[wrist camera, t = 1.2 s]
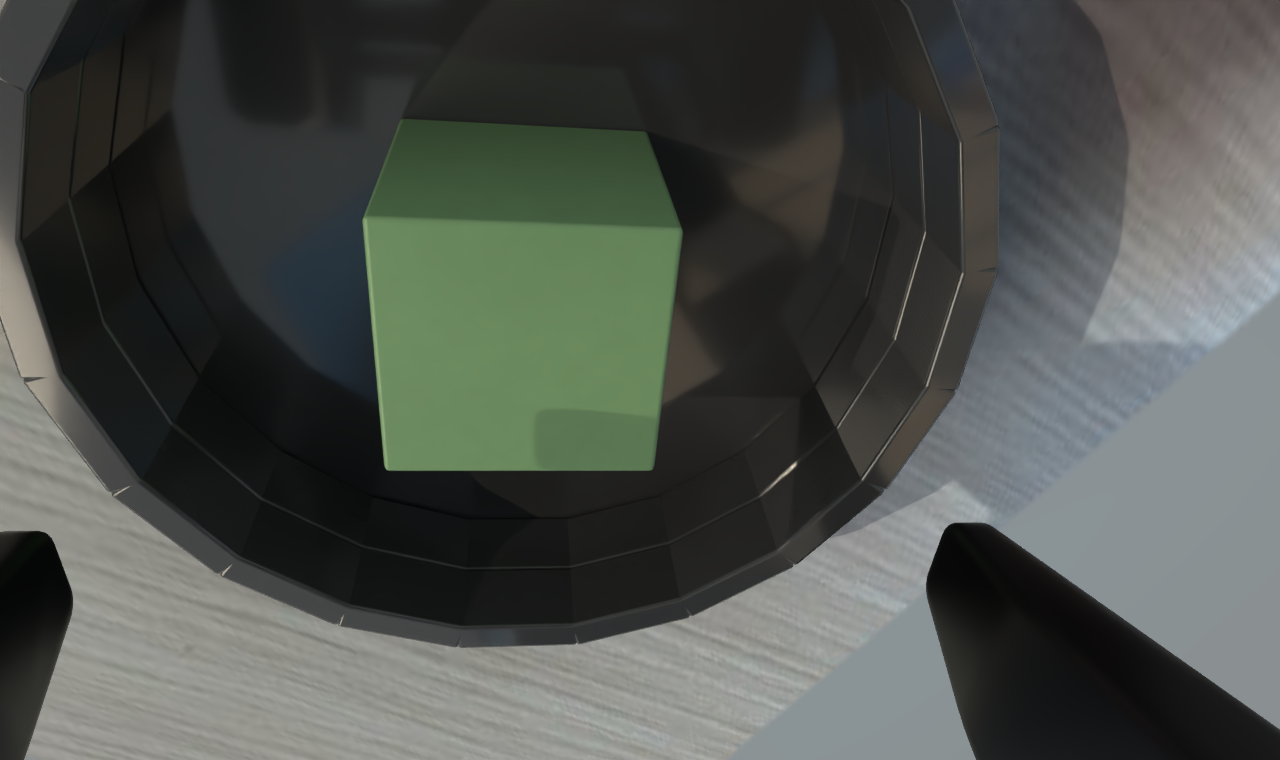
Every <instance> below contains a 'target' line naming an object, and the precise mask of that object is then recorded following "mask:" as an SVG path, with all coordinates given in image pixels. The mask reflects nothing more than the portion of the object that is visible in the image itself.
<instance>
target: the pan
mask: <svg viewBox="0 0 1280 760" xmlns="http://www.w3.org/2000/svg"><path fill="white" fill-rule="evenodd" d="M402 119H417V120H436V121H455V122H474V123H492V124H511V125H530V126H549V127H567V128H586V129H605V130H624V131H643V132H646V133H647V134H648V136H649V139H650V142H651V145H652V148H653V150H654V153H655V156H656V159H657V161H658V164H659V167H660V170H661V172H662V175H663V178H664V181H665V184H666V186H667V189H668V192H669V195H670V197H671V200H672V203H673V206H674V208H675V211H676V214H677V217H678V219H679V222H680V225H681V228H682V231H683V236H682V244H681V252H680V260H679V268H678V277H677V285H676V293H675V301H674V309H673V317H672V325H671V333H670V342H669V350H668V358H667V366H666V374H665V382H664V390H663V398H662V407H661V415H660V423H659V431H658V439H657V447H656V455H655V463H654V467H653V469H652V470H649V471H389V470H386V468H385V466H384V457H383V446H382V435H381V423H380V412H379V401H378V390H377V379H376V367H375V356H374V345H373V334H372V323H371V311H370V300H369V289H368V278H367V267H366V256H365V244H364V233H363V222H362V220H363V217H364V215H365V212H366V209H367V207H368V204H369V201H370V199H371V196H372V194H373V191H374V188H375V186H376V183H377V180H378V178H379V175H380V173H381V170H382V167H383V165H384V162H385V159H386V157H387V154H388V152H389V149H390V146H391V144H392V141H393V138H394V136H395V133H396V131H397V128H398V125H399V123H400V120H402ZM998 124H999V121H998V117H997V114H996V112H995V109H994V106H993V103H992V100H991V98H990V95H989V92H988V89H987V87H986V84H985V81H984V78H983V75H982V73H981V70H980V67H979V64H978V61H977V59H976V56H975V53H974V50H973V47H972V45H971V42H970V39H969V36H968V33H967V31H966V28H965V25H964V22H963V19H962V17H961V14H960V11H959V8H958V5H957V3H956V0H6V2H5V4H4V6H3V8H2V10H1V12H0V321H1V324H2V327H3V330H4V332H5V335H6V338H7V341H8V344H9V347H10V349H11V352H12V355H13V358H14V361H15V364H16V367H17V369H18V372H19V375H20V377H21V378H24V383H25V385H26V386H27V387H28V389H29V390H30V391H31V393H32V394H33V395H34V396H35V398H36V399H37V400H38V402H39V403H40V404H41V406H42V407H43V408H44V409H45V411H46V412H47V413H48V415H49V416H50V417H51V419H52V420H53V421H54V422H55V424H56V425H57V426H58V428H59V429H60V430H61V432H62V433H63V434H64V435H65V437H66V438H67V439H68V441H69V442H70V443H71V445H72V446H73V447H74V448H75V450H76V451H77V452H78V454H79V455H80V456H81V458H82V459H83V460H84V461H85V463H86V464H87V465H88V467H89V468H90V469H91V471H92V472H93V473H94V474H95V476H96V477H97V478H98V480H99V481H100V482H101V484H102V485H103V486H104V487H105V489H106V490H107V491H108V492H112V496H113V497H114V498H116V499H117V500H118V501H120V502H121V503H122V504H124V505H125V506H126V507H128V508H129V509H130V510H132V511H133V512H134V513H136V514H137V515H138V516H140V517H141V518H142V519H144V520H145V521H146V522H148V523H149V524H150V525H152V526H153V527H154V528H156V529H157V530H158V531H160V532H161V533H162V534H164V535H165V536H166V537H168V538H169V539H171V540H172V541H173V542H175V543H176V544H177V545H179V546H180V547H181V548H183V549H184V550H185V551H187V552H188V553H189V554H191V555H192V556H193V557H195V558H196V559H197V560H199V561H200V562H201V563H203V564H204V565H205V566H207V567H208V568H209V569H211V570H212V571H213V572H215V573H217V574H219V573H220V575H221V576H222V577H224V578H226V579H228V580H231V581H233V582H235V583H238V584H240V585H242V586H245V587H247V588H249V589H252V590H254V591H257V592H259V593H261V594H264V595H266V596H268V597H271V598H273V599H275V600H278V601H280V602H282V603H285V604H287V605H289V606H292V607H294V608H296V609H299V610H301V611H304V612H306V613H308V614H311V615H313V616H315V617H318V618H320V619H322V620H325V621H327V622H329V623H332V624H339V626H341V627H347V628H352V629H358V630H363V631H368V632H374V633H379V634H385V635H390V636H396V637H401V638H406V639H412V640H417V641H423V642H428V643H434V644H439V645H444V646H450V647H457V646H458V645H459V647H460V648H477V647H513V646H549V645H574V644H576V642H577V643H578V644H583V643H587V642H591V641H595V640H599V639H604V638H608V637H612V636H616V635H620V634H624V633H628V632H632V631H637V630H641V629H645V628H649V627H653V626H657V625H661V624H665V623H670V622H674V621H678V620H682V619H686V618H689V616H690V615H691V616H694V615H696V614H698V613H700V612H702V611H704V610H706V609H708V608H710V607H712V606H714V605H717V604H719V603H721V602H723V601H725V600H727V599H729V598H731V597H733V596H735V595H737V594H739V593H741V592H743V591H745V590H747V589H749V588H751V587H753V586H755V585H757V584H759V583H761V582H763V581H765V580H767V579H770V578H772V577H774V576H776V575H778V574H780V573H782V572H784V571H786V570H788V569H790V568H792V567H793V564H795V565H796V564H798V563H799V562H800V561H802V560H803V559H804V558H805V557H806V556H808V555H809V554H810V553H811V552H813V551H814V550H815V549H816V548H817V547H819V546H820V545H821V544H822V543H823V542H825V541H826V540H827V539H828V538H829V537H831V536H832V535H833V534H834V533H835V532H837V531H838V530H839V529H840V528H842V527H843V526H844V525H845V524H846V523H848V522H849V521H850V520H851V519H852V518H854V517H855V516H856V515H857V514H858V513H860V512H861V511H862V510H863V509H865V508H866V507H867V506H868V505H869V504H871V503H872V502H873V501H874V500H875V499H877V498H878V497H879V496H880V495H881V494H883V492H884V489H887V488H888V487H889V486H890V484H891V483H892V482H893V480H894V479H895V477H896V476H897V475H898V473H899V472H900V470H901V469H902V468H903V466H904V465H905V463H906V462H907V461H908V459H909V458H910V456H911V455H912V453H913V452H914V451H915V449H916V448H917V446H918V445H919V444H920V442H921V441H922V439H923V438H924V437H925V435H926V434H927V432H928V431H929V430H930V428H931V427H932V425H933V424H934V423H935V421H936V420H937V418H938V417H939V416H940V414H941V413H942V411H943V410H944V409H945V407H946V406H947V404H948V403H949V402H950V400H951V399H952V397H953V396H954V395H955V390H957V388H958V387H959V384H960V381H961V378H962V375H963V372H964V369H965V366H966V363H967V360H968V357H969V354H970V351H971V349H972V346H973V343H974V340H975V337H976V334H977V331H978V328H979V325H980V322H981V319H982V316H983V313H984V310H985V308H986V305H987V302H988V299H989V296H990V293H991V290H992V287H993V284H994V281H995V278H996V275H997V267H998V266H999V189H1000V128H999V126H998Z"/></svg>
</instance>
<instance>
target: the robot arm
mask: <svg viewBox="0 0 1280 760" xmlns="http://www.w3.org/2000/svg"><path fill="white" fill-rule="evenodd" d="M926 592H927V599H928V603H929V606H930V610H931V613H932V617H933V621H934V624H935V628H936V631H937V635H938V639H939V642H940V646H941V649H942V653H943V656H944V660H945V663H946V667H947V671H948V674H949V678H950V681H951V685H952V689H953V692H954V696H955V699H956V703H957V707H958V710H959V713H960V716H961V719H962V723H963V726H964V729H965V731H966V734H967V737H968V739H969V742H970V745H971V748H972V750H973V752H974V755H975V758H976V760H1280V729H1278V728H1277V727H1275V726H1274V725H1273V724H1271V723H1270V722H1268V721H1267V720H1266V719H1264V718H1263V717H1261V716H1260V715H1258V714H1257V713H1256V712H1254V711H1253V710H1251V709H1250V708H1248V707H1247V706H1246V705H1244V704H1243V703H1242V702H1240V701H1239V700H1237V699H1236V698H1234V697H1233V696H1232V695H1230V694H1229V693H1227V692H1226V691H1224V690H1223V689H1222V688H1220V687H1219V686H1217V685H1216V684H1215V683H1213V682H1212V681H1210V680H1209V679H1208V678H1206V677H1205V676H1203V675H1202V674H1200V673H1199V672H1198V671H1196V670H1195V669H1193V668H1192V667H1190V666H1189V665H1187V664H1186V663H1185V662H1183V661H1182V660H1181V659H1179V658H1178V657H1176V656H1175V655H1173V654H1172V653H1171V652H1169V651H1168V650H1166V649H1165V648H1164V647H1162V646H1161V645H1159V644H1158V643H1156V642H1155V641H1154V640H1152V639H1151V638H1149V637H1148V636H1147V635H1145V634H1144V633H1142V632H1141V631H1139V630H1138V629H1137V628H1135V627H1134V626H1132V625H1131V624H1129V623H1128V622H1127V621H1125V620H1124V619H1123V618H1121V617H1120V616H1118V615H1117V614H1115V613H1114V612H1113V611H1111V610H1110V609H1108V608H1107V607H1105V606H1104V605H1103V604H1101V603H1100V602H1098V601H1097V600H1096V599H1094V598H1093V597H1091V596H1090V595H1089V594H1087V593H1086V592H1084V591H1083V590H1081V589H1080V588H1079V587H1077V586H1076V585H1074V584H1073V583H1072V582H1070V581H1069V580H1067V579H1066V578H1065V577H1063V576H1062V575H1060V574H1059V573H1057V572H1056V571H1055V570H1053V569H1052V568H1050V567H1049V566H1047V565H1046V564H1044V563H1043V562H1042V561H1040V560H1039V559H1038V558H1036V557H1035V556H1033V555H1032V554H1031V553H1029V552H1027V551H1026V550H1025V549H1023V548H1022V547H1021V546H1019V545H1018V544H1016V543H1015V542H1014V541H1012V540H1011V539H1009V538H1008V537H1006V536H1005V535H1004V534H1002V533H1001V532H999V531H998V530H997V529H995V528H994V527H992V526H990V525H988V524H986V523H953V524H950V525H949V526H948V527H947V528H946V529H945V530H944V532H943V534H942V537H941V540H940V543H939V545H938V548H937V551H936V553H935V556H934V559H933V562H932V564H931V567H930V570H929V573H928V576H927V582H926ZM72 609H73V595H72V590H71V587H70V584H69V582H68V579H67V576H66V574H65V571H64V568H63V566H62V563H61V560H60V558H59V555H58V552H57V549H56V547H55V544H54V542H53V540H52V538H51V537H50V536H49V535H48V534H46V533H44V532H40V531H4V532H0V760H24V758H25V755H26V752H27V750H28V747H29V744H30V741H31V738H32V735H33V732H34V729H35V726H36V723H37V720H38V717H39V714H40V711H41V708H42V704H43V701H44V698H45V695H46V692H47V689H48V686H49V683H50V680H51V677H52V674H53V671H54V668H55V665H56V662H57V658H58V655H59V652H60V649H61V646H62V643H63V640H64V637H65V634H66V631H67V628H68V625H69V622H70V618H71V615H72Z"/></svg>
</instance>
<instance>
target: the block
mask: <svg viewBox="0 0 1280 760" xmlns="http://www.w3.org/2000/svg"><path fill="white" fill-rule="evenodd" d="M362 222H363V233H364V244H365V256H366V267H367V278H368V289H369V300H370V311H371V323H372V334H373V345H374V356H375V367H376V379H377V390H378V401H379V412H380V423H381V435H382V446H383V457H384V466H385V468H386V470H389V471H649V470H652V469H653V467H654V463H655V455H656V447H657V439H658V431H659V423H660V415H661V407H662V398H663V390H664V382H665V374H666V366H667V358H668V350H669V342H670V333H671V325H672V317H673V309H674V301H675V293H676V285H677V277H678V268H679V260H680V252H681V244H682V236H683V231H682V228H681V225H680V222H679V219H678V217H677V214H676V211H675V208H674V206H673V203H672V200H671V197H670V195H669V192H668V189H667V186H666V184H665V181H664V178H663V175H662V172H661V170H660V167H659V164H658V161H657V159H656V156H655V153H654V150H653V148H652V145H651V142H650V139H649V136H648V134H647V133H646V132H643V131H624V130H605V129H586V128H567V127H549V126H530V125H511V124H492V123H474V122H455V121H436V120H417V119H402V120H400V123H399V125H398V128H397V131H396V133H395V136H394V138H393V141H392V144H391V146H390V149H389V152H388V154H387V157H386V159H385V162H384V165H383V167H382V170H381V173H380V175H379V178H378V180H377V183H376V186H375V188H374V191H373V194H372V196H371V199H370V201H369V204H368V207H367V209H366V212H365V215H364V217H363V220H362Z"/></svg>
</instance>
